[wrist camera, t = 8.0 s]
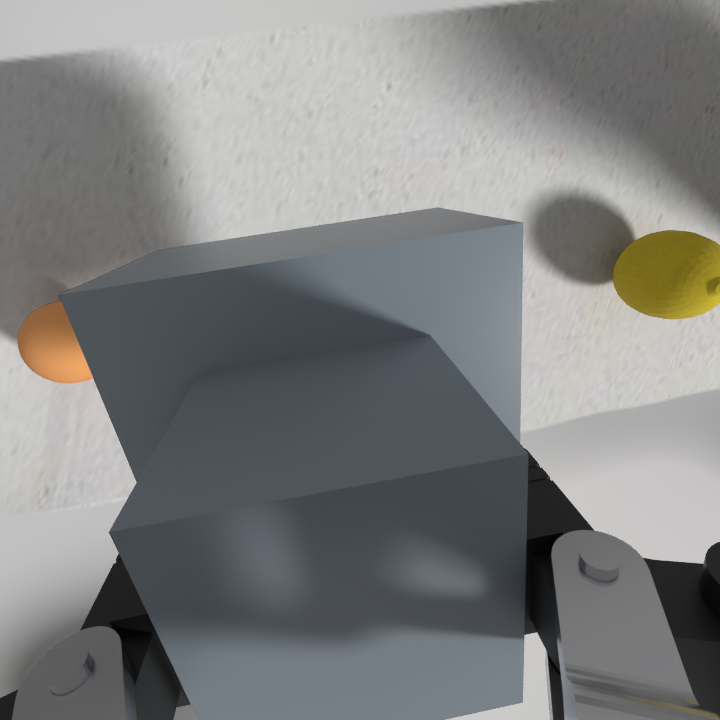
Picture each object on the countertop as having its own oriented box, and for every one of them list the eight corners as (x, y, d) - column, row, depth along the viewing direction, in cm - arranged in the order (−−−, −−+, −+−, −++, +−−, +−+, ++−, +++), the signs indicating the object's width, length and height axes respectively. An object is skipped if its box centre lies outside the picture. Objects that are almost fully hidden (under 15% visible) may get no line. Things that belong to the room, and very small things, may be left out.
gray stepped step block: (437, 207, 16) (720, 257, 5) (451, 439, 20) (626, 745, 9) (159, 249, 15) (-196, 407, 4) (230, 479, 19) (134, 858, 8)
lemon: (601, 223, 30) (697, 235, 23) (670, 228, 31) (785, 241, 24) (580, 299, 32) (663, 333, 25) (646, 302, 33) (744, 336, 26)
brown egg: (61, 294, 28) (117, 288, 27) (90, 363, 30) (145, 362, 29) (-20, 318, 24) (42, 313, 22) (20, 397, 26) (80, 398, 24)
